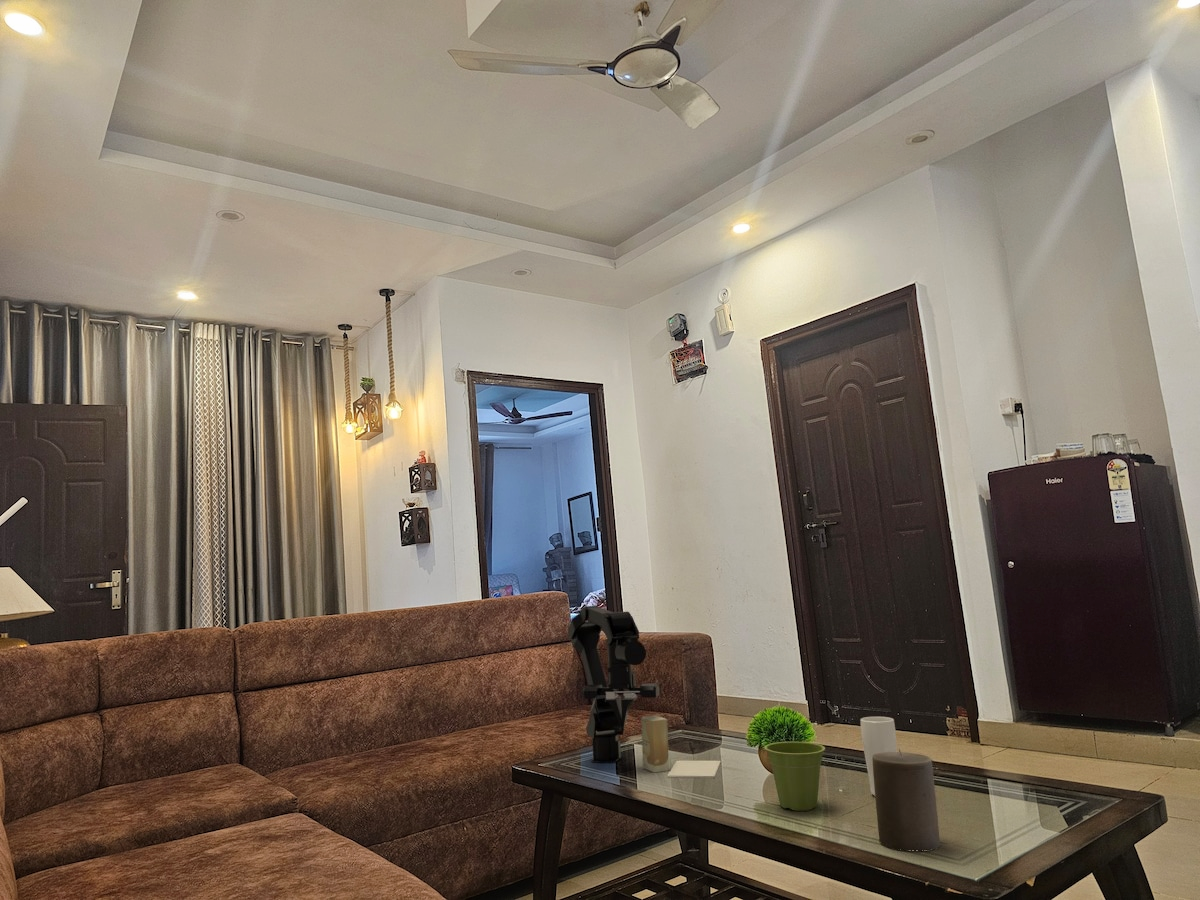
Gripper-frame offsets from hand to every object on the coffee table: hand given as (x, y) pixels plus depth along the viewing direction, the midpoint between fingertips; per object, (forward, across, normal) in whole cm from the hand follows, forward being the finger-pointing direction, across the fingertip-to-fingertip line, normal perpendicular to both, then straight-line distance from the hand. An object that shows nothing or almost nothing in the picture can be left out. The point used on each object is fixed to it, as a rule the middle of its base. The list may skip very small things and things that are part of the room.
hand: (622, 726), depth 198 cm
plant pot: (+10, -42, +31) cm, 53 cm away
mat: (+10, -17, 0) cm, 20 cm away
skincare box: (+10, -8, 0) cm, 13 cm away
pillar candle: (+10, -60, +52) cm, 80 cm away
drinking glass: (+10, -59, +22) cm, 64 cm away
